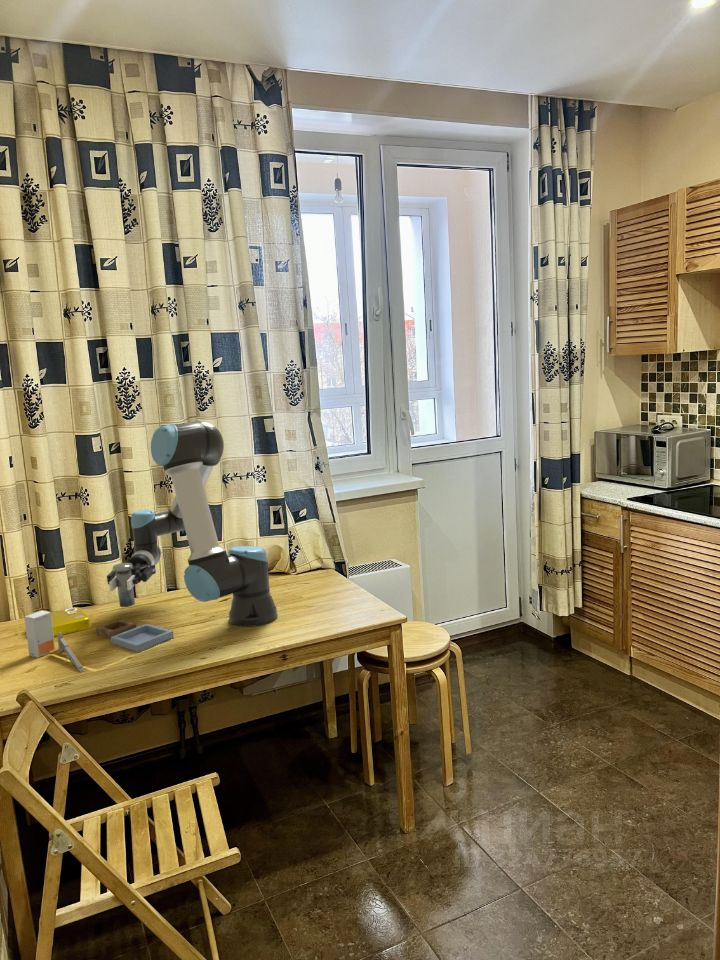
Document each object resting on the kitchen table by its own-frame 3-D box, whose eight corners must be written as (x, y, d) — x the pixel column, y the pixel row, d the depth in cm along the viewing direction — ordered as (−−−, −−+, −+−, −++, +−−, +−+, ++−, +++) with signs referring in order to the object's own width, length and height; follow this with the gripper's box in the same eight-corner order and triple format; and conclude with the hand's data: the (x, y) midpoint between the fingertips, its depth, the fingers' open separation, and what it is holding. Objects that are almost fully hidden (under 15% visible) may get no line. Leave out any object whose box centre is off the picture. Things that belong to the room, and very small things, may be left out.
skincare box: (38, 658, 213) (32, 618, 211) (28, 656, 215) (23, 616, 213) (56, 650, 218) (51, 611, 216) (47, 648, 220) (42, 609, 218)
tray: (173, 638, 222) (173, 631, 221) (137, 653, 212) (136, 645, 212) (147, 630, 230) (146, 623, 229) (111, 644, 220) (110, 637, 219)
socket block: (136, 631, 229) (136, 623, 229) (113, 640, 223) (112, 632, 223) (120, 626, 235) (119, 619, 234) (97, 635, 228) (96, 627, 228)
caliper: (58, 652, 217) (56, 631, 216) (62, 651, 218) (60, 630, 217) (80, 673, 201) (77, 651, 200) (84, 672, 202) (81, 650, 201)
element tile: (32, 629, 238) (30, 615, 237) (80, 618, 246) (78, 604, 246) (41, 643, 226) (39, 627, 225) (92, 630, 234) (90, 616, 233)
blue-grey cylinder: (140, 603, 223) (136, 564, 221) (124, 608, 219) (120, 569, 217) (129, 600, 227) (125, 561, 225) (113, 605, 222) (108, 566, 220)
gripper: (168, 574, 240) (151, 596, 217) (113, 578, 240) (91, 600, 217) (165, 551, 239) (148, 571, 216) (111, 555, 239) (87, 576, 215)
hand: (119, 586), depth 216 cm, fingers closed on blue-grey cylinder, 4 cm apart
